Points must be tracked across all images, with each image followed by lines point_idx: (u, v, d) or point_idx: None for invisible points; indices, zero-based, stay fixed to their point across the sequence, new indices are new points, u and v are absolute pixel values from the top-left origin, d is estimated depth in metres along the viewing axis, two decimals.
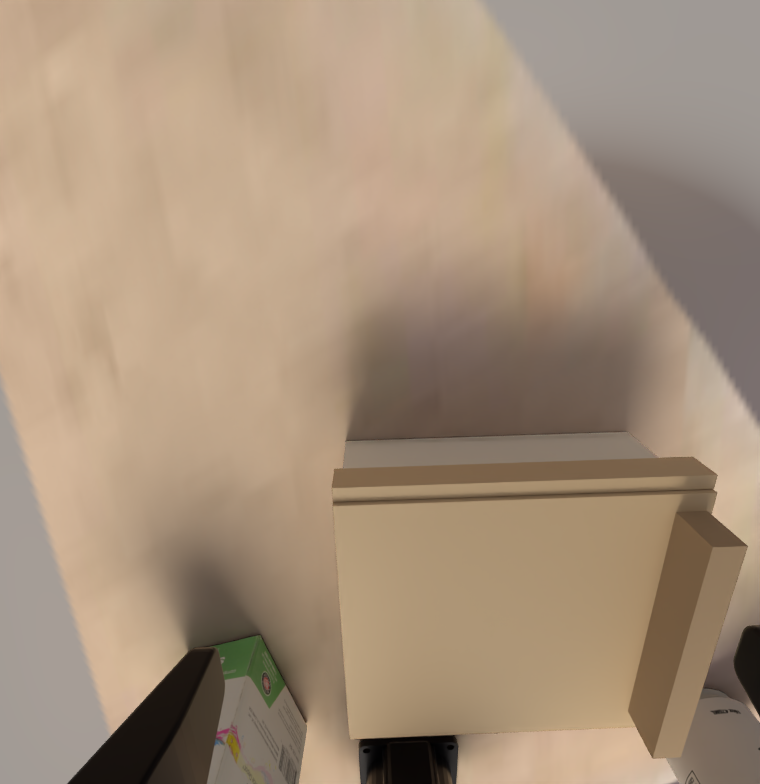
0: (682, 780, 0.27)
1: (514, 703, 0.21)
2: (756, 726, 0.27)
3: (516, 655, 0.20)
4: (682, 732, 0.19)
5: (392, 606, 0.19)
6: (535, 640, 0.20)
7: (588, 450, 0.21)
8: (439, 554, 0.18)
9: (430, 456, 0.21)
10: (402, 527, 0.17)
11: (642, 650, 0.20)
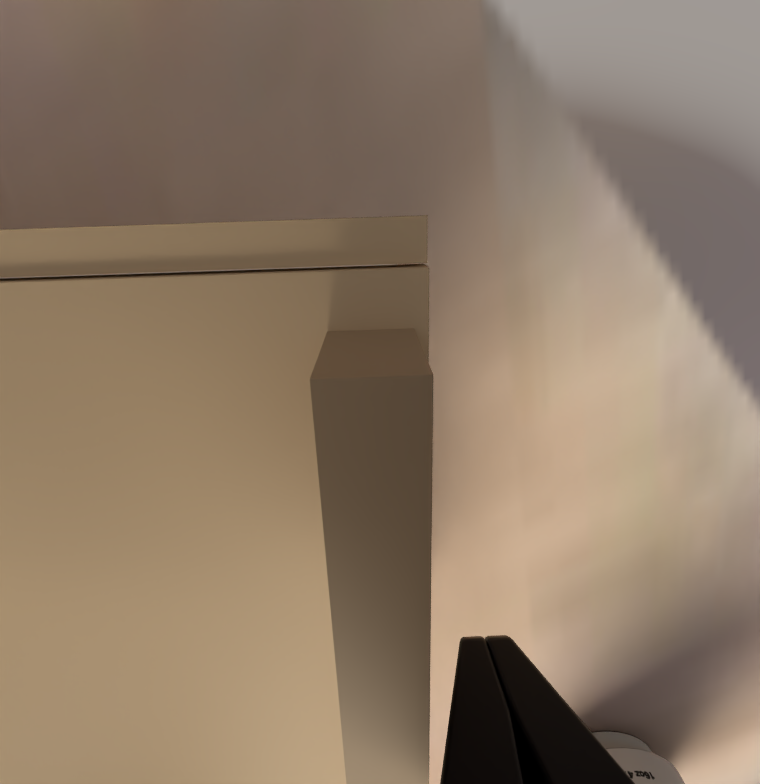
0: None
1: None
2: None
3: (66, 707, 0.09)
4: None
5: None
6: (93, 673, 0.09)
7: None
8: None
9: None
10: None
11: None
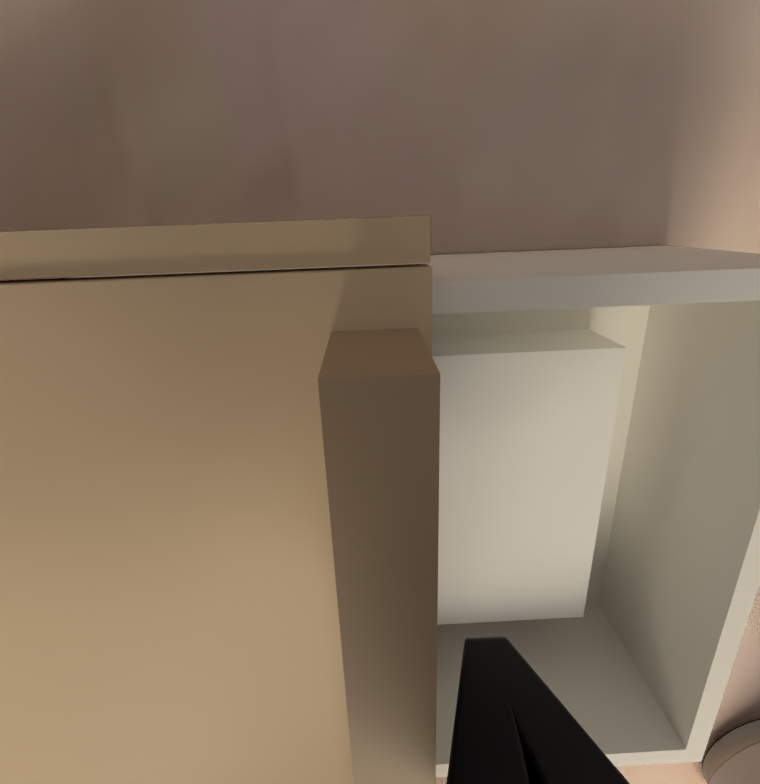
0: None
1: None
2: None
3: (70, 710, 0.09)
4: None
5: None
6: (98, 676, 0.09)
7: (594, 254, 0.10)
8: None
9: None
10: None
11: None
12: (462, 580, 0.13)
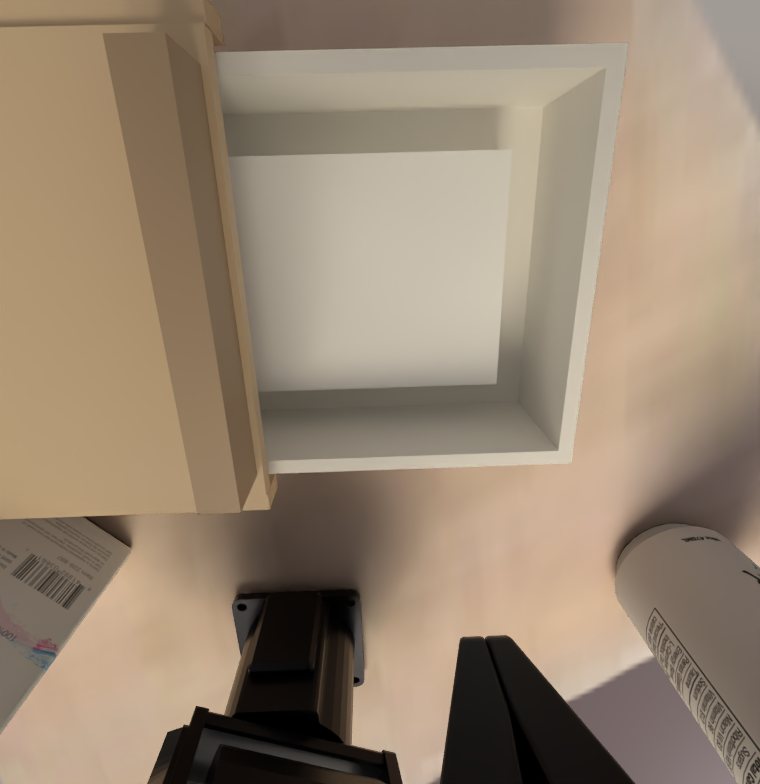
0: (643, 626, 0.21)
1: (41, 459, 0.14)
2: (740, 553, 0.20)
3: (5, 366, 0.13)
4: (223, 462, 0.12)
5: None
6: (23, 336, 0.13)
7: None
8: None
9: None
10: None
11: None
12: (404, 347, 0.17)
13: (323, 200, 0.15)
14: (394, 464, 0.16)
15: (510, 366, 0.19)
